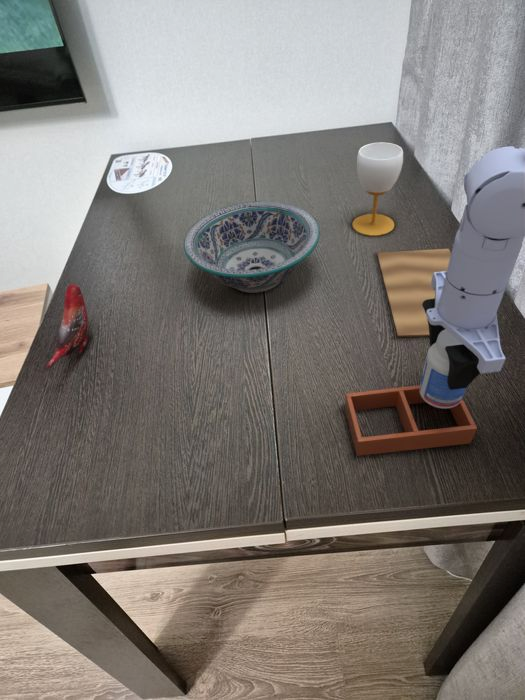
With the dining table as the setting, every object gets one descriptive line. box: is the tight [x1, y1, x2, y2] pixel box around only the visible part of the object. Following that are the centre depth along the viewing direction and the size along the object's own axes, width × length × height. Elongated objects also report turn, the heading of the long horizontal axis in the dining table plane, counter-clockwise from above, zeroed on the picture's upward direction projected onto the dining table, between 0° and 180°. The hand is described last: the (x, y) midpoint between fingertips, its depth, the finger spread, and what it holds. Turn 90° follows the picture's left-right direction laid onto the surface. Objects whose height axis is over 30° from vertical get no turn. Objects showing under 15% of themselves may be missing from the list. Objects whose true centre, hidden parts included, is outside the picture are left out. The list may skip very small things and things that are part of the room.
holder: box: [344, 384, 478, 457], centre depth 59 cm, size 15×8×4 cm, turn 94°
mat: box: [376, 248, 452, 339], centre depth 79 cm, size 24×14×1 cm, turn 178°
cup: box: [352, 141, 404, 237], centre depth 90 cm, size 9×9×16 cm
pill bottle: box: [419, 329, 467, 410], centre depth 54 cm, size 6×5×10 cm
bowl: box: [183, 200, 321, 294], centre depth 84 cm, size 25×25×10 cm
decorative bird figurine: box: [45, 283, 90, 371], centre depth 72 cm, size 3×18×10 cm, turn 178°
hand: (447, 367), depth 54 cm, fingers closed on pill bottle, 5 cm apart
